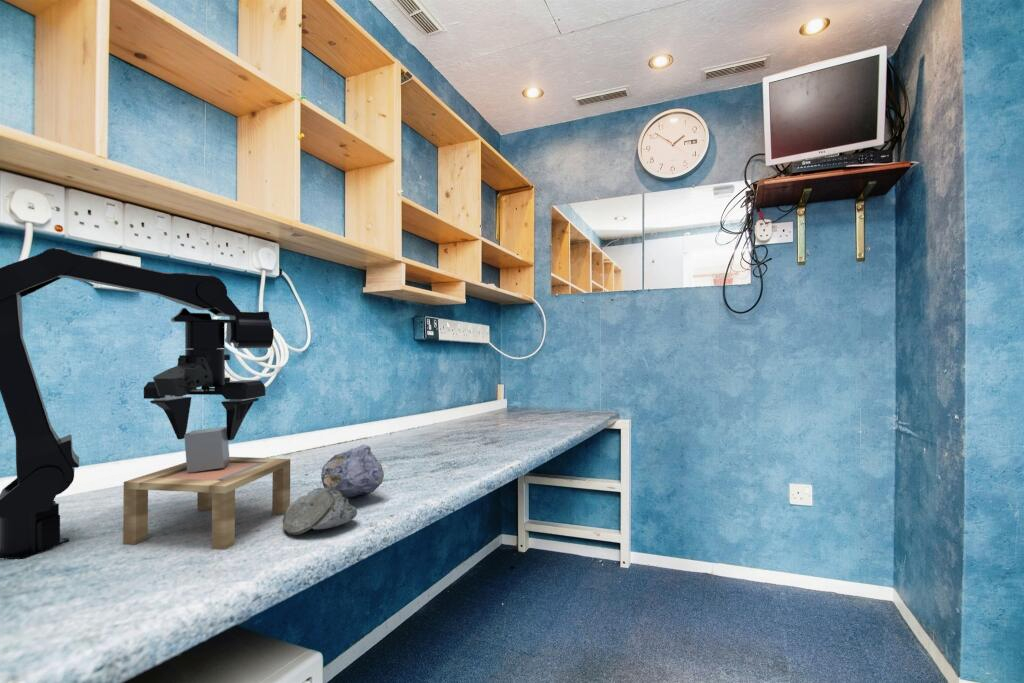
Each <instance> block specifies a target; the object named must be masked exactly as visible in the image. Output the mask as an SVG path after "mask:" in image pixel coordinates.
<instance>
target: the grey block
mask: <svg viewBox="0 0 1024 683" xmlns="http://www.w3.org/2000/svg"><path fill="white" fill-rule="evenodd" d="M184 448H185V449H184V450H185V462H186V464H187V473H191V472H197V471H204V470H211V469H217V468H224V467H225V466H226V465H227V464H228V463H229V462H230V459H229V457H230V449H229V440H228V439H227V426H219V427H213V428H205V429H196V430H192V431H189V432H186V434H185V435H184Z"/></svg>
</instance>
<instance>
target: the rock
mask: <svg viewBox="0 0 1024 683" xmlns="http://www.w3.org/2000/svg"><path fill="white" fill-rule="evenodd" d="M320 476H321V482H322V486H323V488H328V487H331V488H334V489H336V490H338V491H339V492H341V494H342V495H341V496H345V497H348V498H353V497H356V496H361V495H370V494H371V493H373V492H375V491H376V490H377V489H378V488H379V486H381V484H383V481H384V476H385V472H384V469H383V465H382V464H381V463H380V462H379V461H378V458H377V457H376V456H375V455H374V454H373V451H372V450H371V447H370V446H369V445H365V444H362V445H359V446H357V447H355V448H351V449H349V450H348V451H345V452H341V453H337V454H334V455H333V456H332V457H331V458H330V459H329V460H328V461H327V462H326V463H325V464H324V465H323V466H322V469H321V472H320Z"/></svg>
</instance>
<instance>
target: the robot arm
mask: <svg viewBox="0 0 1024 683" xmlns="http://www.w3.org/2000/svg"><path fill="white" fill-rule="evenodd" d="M62 279H71V280H77V281H82V282H87V283H91V284H97V285H102V286H108V287H113V288H118V289H124V290H129V291H133V292H140V293H144V294H149V295H155V296H158V297H160V298H164V299H167V300H169V301H171V302H174V303H176V304H179V305H182V306H185V307H184V308H183V307H181V309H180V310H179V312H178V313H177V314H175V316H172V317H171V318H170V322H172V323H184V332H185V334H184V338H185V341H184V343H185V344H184V345H185V346H184V347H185V348H184V349H185V350H184V351H185V352H184V354H181V355H179V356H178V358H177V365H176V366H174V367H170V368H168V369H165V370H164V371H162V372H160V373H158V374H156V375H154V376H153V378H152V380H153V381H147V383H146V385H145V386H143V399H146V400H150V401H149V402H150V403H151V404H154V405H155V406H157V407H159V408H160V409H162V410H163V411H164V413H165V414H166V416H167V419H168V420H169V422H170V425H171V428H172V430H173V431H174V434H175V436H176V438H177V440H183V439H184V440H185V438H184V435H185V434H187V430H188V424H189V419H190V418H189V417H190V412H191V411H190V409H191V404H192V403H191V402H192V395H195V396H196V395H199V396H201V395H202V396H203V395H205V396H210V395H211V396H213V395H214V396H215V395H216V396H218V395H219V396H223V398H224V399H225V400H224V401H220V403H221V405H222V406H223V407H224V408H223V409H225V411H226V415H225V418H226V427H227V439H228V442H229V441H233V440H235V438H236V436H237V434H238V432H239V429H240V428H241V426H242V423H243V422H244V419H245V417H246V416H247V414H248V412H249V411H250V409H251V407H252V405H253V404H254V402H259V401H260V400H259V399H260V397H265V396H266V385H265V384H264V382H263V381H262V380H258V379H257V380H256V379H254V380H251V379H247V380H246V379H245V380H244V379H243V380H236V381H235V380H234V381H231V377H226V373H225V372H226V368H225V367H226V366H225V363H226V361H231V354H225V346H226V345H225V344H226V343H225V342H226V341H225V340H227V343H228V344H233V348H235V349H270V348H271V347H272V346H273V342H274V337H275V335H274V328H273V324H272V320H271V319H270V312H269V311H257V312H256V311H253V312H252V311H249V312H248V311H241V310H240V309H239V308H238V307H237V305H236V304H235V303H234V302H233V301H232V299H231V298H230V297H229V296H228V289H227V286H226V284H225V283H224V282H223V280H222V279H220V278H219V277H218V276H214V275H213V274H202V273H188V272H166V271H165V272H164V271H159V270H154V269H149V268H145V267H143V266H142V267H141V266H137V265H136V266H135V265H133V264H132V265H131V264H127V263H123V262H119V261H118V262H117V261H113V260H109V259H104V258H100V257H96V256H90V255H86V254H81V253H77V252H72V251H69V250H68V249H66V248H60V247H51V248H47V249H46V250H45V249H44V251H42V252H40V253H37V254H36V255H34V256H31V257H30V256H29V257H27V258H25V259H21V260H19V261H16V262H13V263H9V264H7V265H4V266H2V267H0V395H1V397H2V401H3V404H4V407H5V411H6V413H7V416H8V418H9V422H10V425H11V428H12V431H13V434H14V436H15V466H16V478H15V479H14V480H13V481H11V482H10V483H9V484H8V485H7V486H5V487H3V489H2V490H1V491H0V558H4V559H3V560H15V559H18V560H20V559H21V560H25V559H28V558H30V557H32V556H35V555H37V554H40V553H43V552H45V551H48V550H51V549H53V548H56V547H58V546H60V545H63V544H66V543H68V542H69V541H70V537H62V536H61V515H60V503H58V502H56V501H55V499H56V497H57V496H58V495H61V494H62V493H63V492H65V491H66V490H67V489H69V488H70V486H71V485H72V483H73V481H74V479H75V470H76V469H78V468H79V467H80V457H79V455H77V454H76V452H75V450H74V449H73V448H74V447H73V436H72V434H68V435H66V436H63V437H61V438H60V436H59V435H58V434H57V432H56V431H55V429H54V428H53V426H52V423H51V421H50V418H49V414H48V411H47V407H46V405H45V401H44V399H43V398H44V397H43V396H42V393H41V389H40V387H39V382H38V380H37V376H36V373H35V370H34V367H33V364H32V362H31V359H30V355H29V351H28V348H27V346H26V343H25V339H24V332H23V331H24V330H23V329H24V328H23V326H24V325H23V305H22V304H23V303H22V298H24V297H26V296H28V295H30V294H33V293H35V292H37V291H39V290H40V289H42V288H45V287H46V286H48V285H51V284H53V283H54V282H57V281H59V280H62ZM186 307H188V308H191V309H195V310H197V311H208V313H207V312H206V313H205V312H190V311H189V310H188V309H187V308H186ZM210 313H211V314H213V315H214V316H217V317H225V318H226V317H228V318H229V319H217V318H212V315H211V314H210ZM225 324H226V329H225ZM225 330H226V332H225ZM225 333H226V335H225ZM225 336H226V338H225ZM200 387H201V388H200ZM186 395H187V396H186ZM188 395H191V396H188ZM151 399H152V400H151ZM75 468H76V469H75ZM6 558H7V559H6Z"/></svg>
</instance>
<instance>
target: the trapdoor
mask: <svg viewBox="0 0 1024 683" xmlns="http://www.w3.org/2000/svg"><path fill="white" fill-rule="evenodd" d="M262 464H264V463H228V464H227V465H226V466H225V467H224V468H217V469H211V470H204V471H197V472H191V473H187V470H186V471H183V472H180V473H177V474H174V475H171V476H168V477H165V478H172V479H196V480H219V481H222V480H225V479H227V478H230V477H232V476H235V475H237V474H239V473H242V472H244V471H247V470H249V469H252V468H254V467H257V466H259V465H262Z"/></svg>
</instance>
